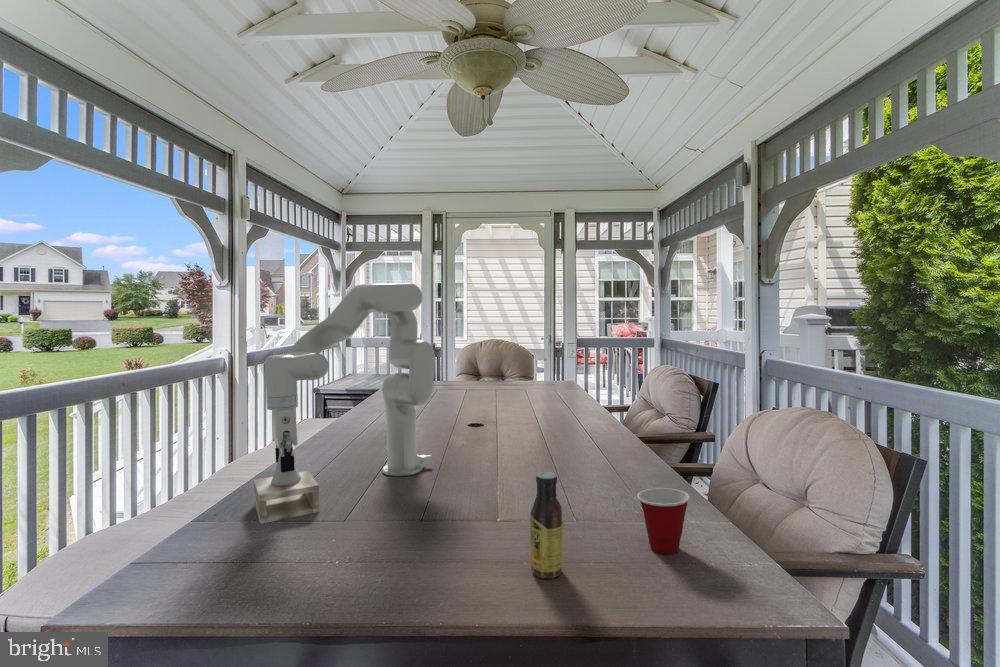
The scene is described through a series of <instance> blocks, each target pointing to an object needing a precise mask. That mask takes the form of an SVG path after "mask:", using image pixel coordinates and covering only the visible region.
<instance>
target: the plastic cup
mask: <svg viewBox="0 0 1000 667" xmlns="http://www.w3.org/2000/svg"><path fill="white" fill-rule="evenodd" d="M689 494H690V493H688V492H686V491H683V490H681V489H676V488H667V487H657V488H656V487H654V488H653V487H652V488H648V489H644V490H642V491H639V492H638V493H637V494H636V497H637V499H638V501H639V503H640V504H641V509H642V512H643V517H644V523H645V528H646V532H647V537H648V544H649V547H650V549H651V550H652V551H653V553H656V554H659V555H665V556H670V555H675V554H677V553H678V551H679V548H680V544H681V538H682V535H683V529H684V522H685V517H686V512H687V508H688V502H689V500H690V498H691V496H690V495H689Z"/></svg>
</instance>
